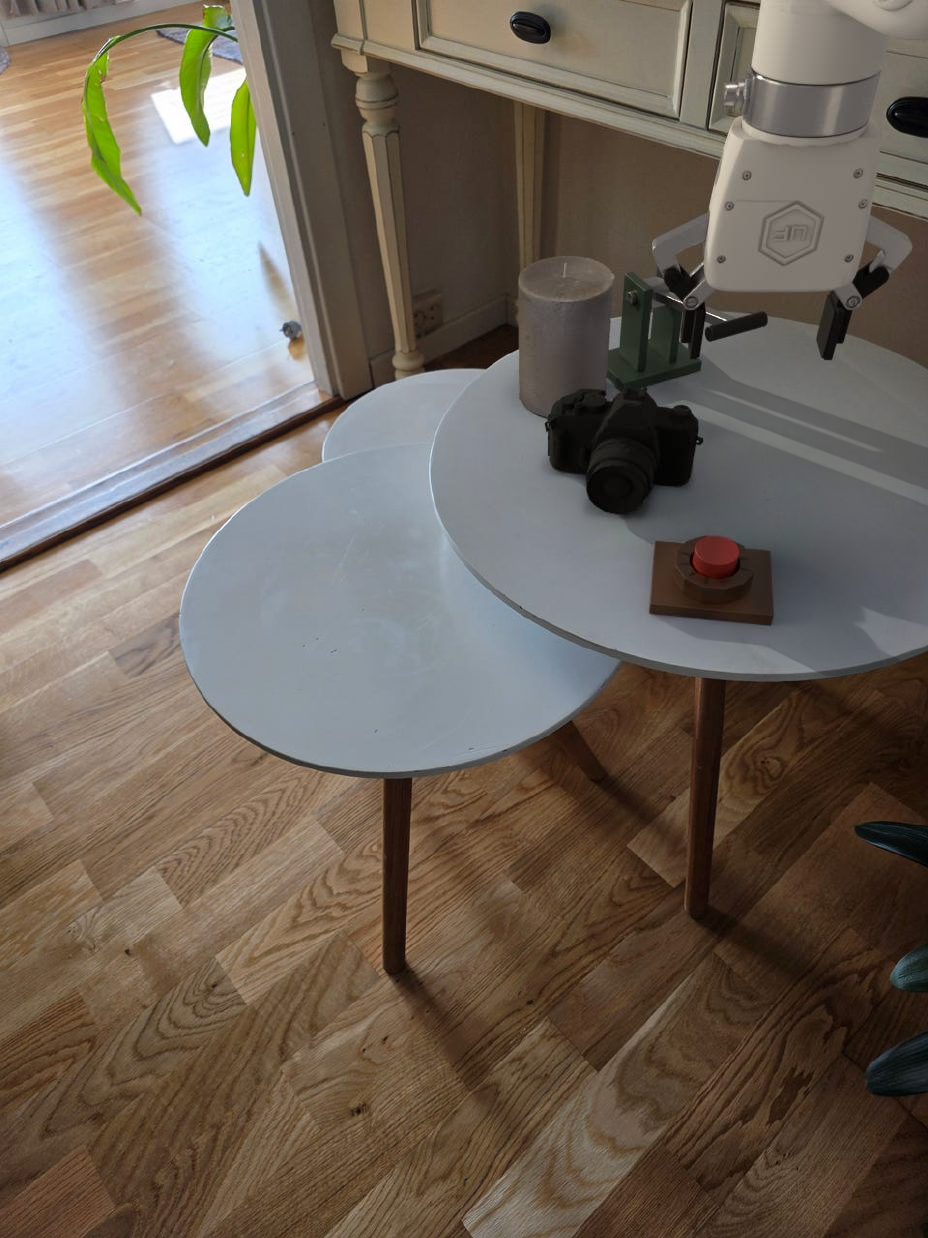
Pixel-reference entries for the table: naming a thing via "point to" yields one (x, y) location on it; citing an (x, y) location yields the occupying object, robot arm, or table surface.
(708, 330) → the lever
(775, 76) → the robot arm
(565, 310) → the pillar candle
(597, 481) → the film camera
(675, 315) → the bracket
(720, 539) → the button
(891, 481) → the table surface
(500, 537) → the table surface
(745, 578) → the button block
